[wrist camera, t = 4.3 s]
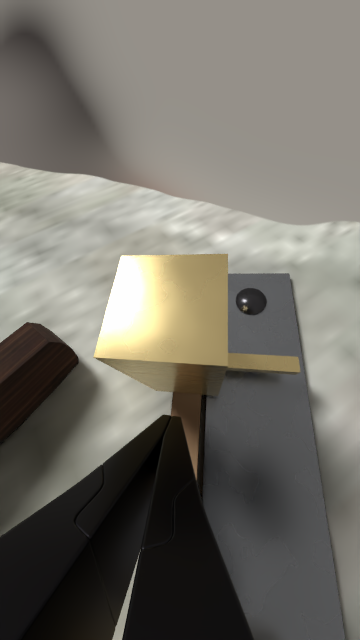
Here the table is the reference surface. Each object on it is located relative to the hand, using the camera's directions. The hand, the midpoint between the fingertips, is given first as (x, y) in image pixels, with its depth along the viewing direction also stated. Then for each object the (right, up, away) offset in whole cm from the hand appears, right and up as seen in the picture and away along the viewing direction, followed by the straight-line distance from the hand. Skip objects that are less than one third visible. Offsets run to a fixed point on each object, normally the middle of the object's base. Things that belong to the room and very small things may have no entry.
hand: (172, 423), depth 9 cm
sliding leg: (+4, +1, +6) cm, 7 cm away
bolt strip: (+6, -3, +5) cm, 8 cm away
